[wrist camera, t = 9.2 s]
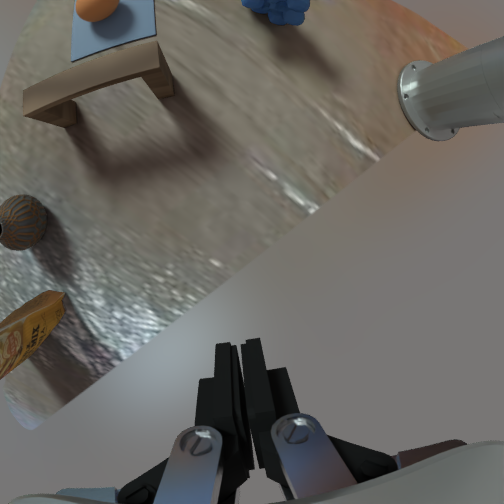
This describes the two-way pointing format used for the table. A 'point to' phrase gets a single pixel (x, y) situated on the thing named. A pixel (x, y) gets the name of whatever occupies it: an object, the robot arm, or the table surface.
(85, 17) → the ball
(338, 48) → the table surface
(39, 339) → the pancake mix bag
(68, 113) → the bridge
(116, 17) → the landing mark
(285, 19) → the blue lumpy cluster
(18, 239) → the vase
